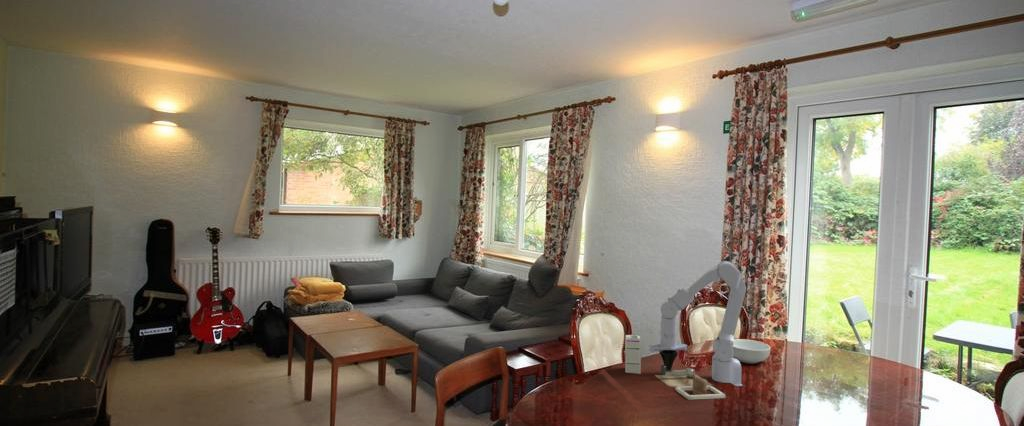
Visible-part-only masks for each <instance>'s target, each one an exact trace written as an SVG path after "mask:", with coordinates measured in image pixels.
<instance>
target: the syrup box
mask: <svg viewBox="0 0 1024 426" xmlns="http://www.w3.org/2000/svg"><path fill="white" fill-rule="evenodd" d="M641 342H642V340H641V336H640V335H638V334H637V335H636V334H625V337H624V345H625V347H624V359H625V360H624V367H625V369H624V371H625V373H627V374H628V373H629V374H638V375H639V374H640V375H641V372H642V367H641V366H642V365H641V364H642V361H641V360H642V353H641V352H642V347H641V346H642V345H641V344H642V343H641Z"/></svg>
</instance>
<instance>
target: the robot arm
mask: <svg viewBox="0 0 1024 426" xmlns="http://www.w3.org/2000/svg"><path fill="white" fill-rule="evenodd" d="M721 280H723V281H724V282H725V283H726V284H727V286H728V287H729V288H730V292H729V295H728V300H727V303H726V304H727V305H726V308H725V310H724V316H723V318H722V323H721V326H720V330H719V332H718V334H717V337H716V338H715V340H713V342H712V348H713V350H714V354H713V355H712V358H711V359H712V360H711V379H712V380H713V381H715V382H718V383H724V384H725V383H726V384H729V383H730V384H732V385H733V386H736V387H743V384H742V364H741V361H739V360H738V359H736V358H734V357H733V355H734V350H733V344H734V339H735V334H736V333H735V332H736V330H737V327H738V322H739V318H740V315H741V311H742V308H743V307H742V306H743V303H744V299H745V295H746V292H747V287H746V283H745V281H744V279H743V276H742V273H741V271H740V270H739V269H738V268H737V267H736V266H735V265H734V264H733V263H732V262H730V261H727V260H724V261H723V260H722V261H721V262H719V263H718V264H717V265H714V266H713V267H711V268H710V269H709V270H707V271H706V272H705V273H703V275H701V276H700V277H699V278H698V279H697V280H696V281H695V282H693V284H691V285H690V286H689V287H683V288H678V289H677V291H676V293H675V294H673V295H672V296H671V297H667V299H666V301H664V302H663V303H662V304H661V306H660V313H661V316H660V319H661V320H660V340H659V341H660V343H657V344H653V345H649V346H648V347H649V348H648V349H649V351H650V352H651V353H655V352H659V354H660V356H661V358H662V362H663V365H665V366H666V370H672V367H673V364H674V361H675V360H676V358H677V357H678V354H679V353H678V351H688V344H685V343H677V338H678V337H677V331H678V330H677V326H678V325H677V324H678V323H677V315H678V312H679V311H682V310H683V309H685V308H686V307H687V306H688V305H689V304H691V303H692V302H693V301H694V300H695V295H696V294H697V293H699V292H700V291H702V290H703V289H704V288H706V287H707V286H708V285H710V284H711V283H715V282H721Z"/></svg>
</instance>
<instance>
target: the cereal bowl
mask: <svg viewBox="0 0 1024 426" xmlns="http://www.w3.org/2000/svg"><path fill="white" fill-rule="evenodd" d="M733 350H734V355H733V358H734V359H737V360H738V361H739V362H740V363H745V364H757V363H760V362H764V361H765V360H767V359H768V358H769V357H770V355H771V346H770V345H769V344H767V343H765V342H762V341H758V340H752V339H744V338H743V339H741V338H739V339H738V338H737V339H735V338H734V344H733Z"/></svg>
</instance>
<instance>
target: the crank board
mask: <svg viewBox="0 0 1024 426" xmlns="http://www.w3.org/2000/svg"><path fill="white" fill-rule="evenodd" d="M654 376H655V378H657V379H659V381H661V382H663V383H664V384H665V385H666V386H668V387H673V388H675V387H681V386H693V378H702V377H700V376H699V375H698V374H696V373H695V377H693V378H691V377H687V376H677V377H662V376H661V374H654ZM707 385H711V386H713V384H712V383H710V382H709V381H707Z"/></svg>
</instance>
